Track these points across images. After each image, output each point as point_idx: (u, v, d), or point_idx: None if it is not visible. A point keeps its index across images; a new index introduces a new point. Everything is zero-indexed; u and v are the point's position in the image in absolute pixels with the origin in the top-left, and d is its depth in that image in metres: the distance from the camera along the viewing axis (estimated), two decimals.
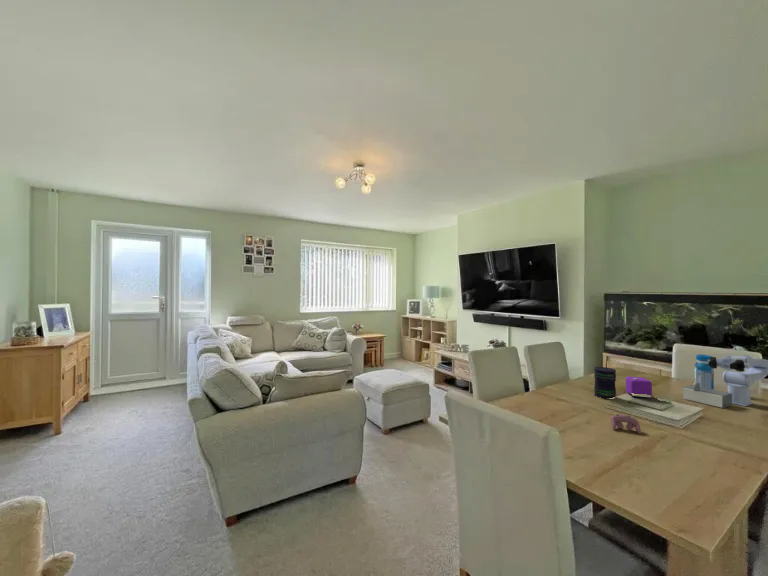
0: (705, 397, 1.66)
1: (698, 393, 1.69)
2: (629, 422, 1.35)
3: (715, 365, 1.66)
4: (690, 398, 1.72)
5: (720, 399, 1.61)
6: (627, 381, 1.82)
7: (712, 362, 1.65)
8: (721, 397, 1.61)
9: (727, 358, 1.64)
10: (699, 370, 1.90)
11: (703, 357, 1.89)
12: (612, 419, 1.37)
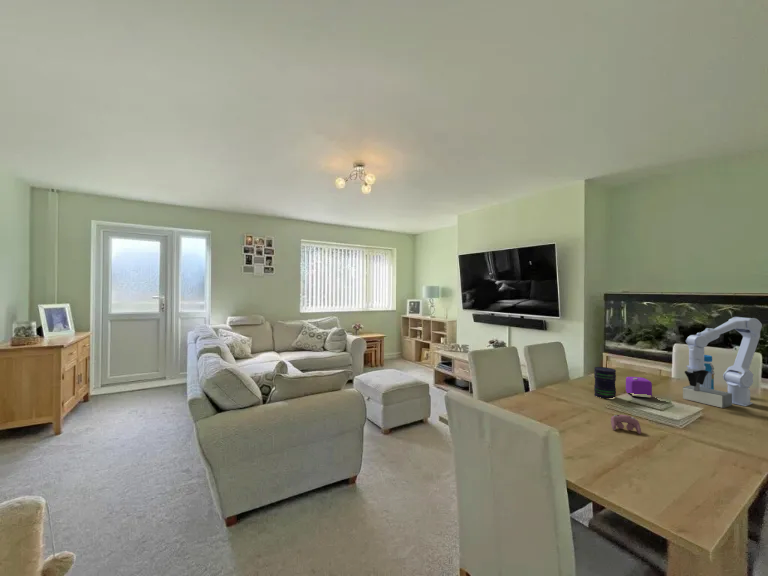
0: (705, 397, 1.66)
1: (698, 393, 1.69)
2: (629, 422, 1.35)
3: (702, 373, 1.70)
4: (690, 398, 1.72)
5: (720, 399, 1.61)
6: (627, 381, 1.82)
7: (698, 379, 1.72)
8: (721, 397, 1.61)
9: None
10: None
11: None
12: (612, 419, 1.37)
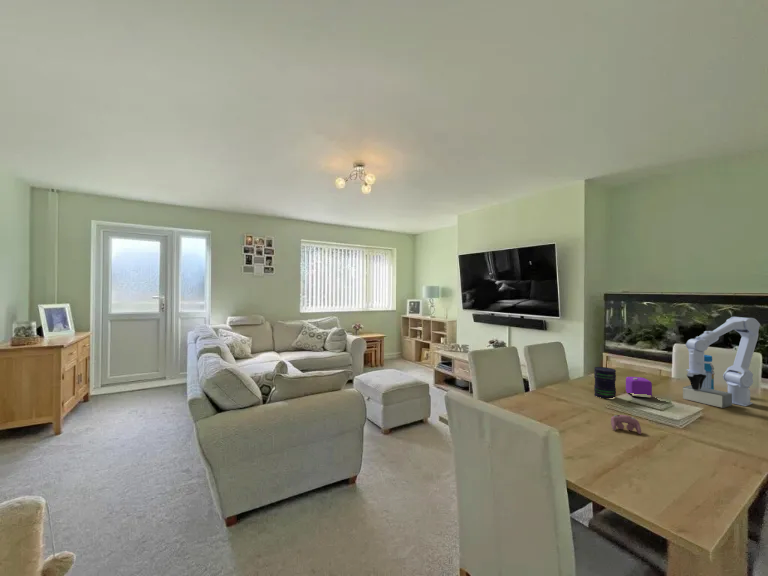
0: (705, 397, 1.66)
1: (698, 393, 1.69)
2: (629, 423, 1.35)
3: None
4: (690, 398, 1.72)
5: (720, 399, 1.61)
6: (627, 381, 1.82)
7: None
8: (721, 397, 1.61)
9: None
10: None
11: None
12: (612, 420, 1.37)
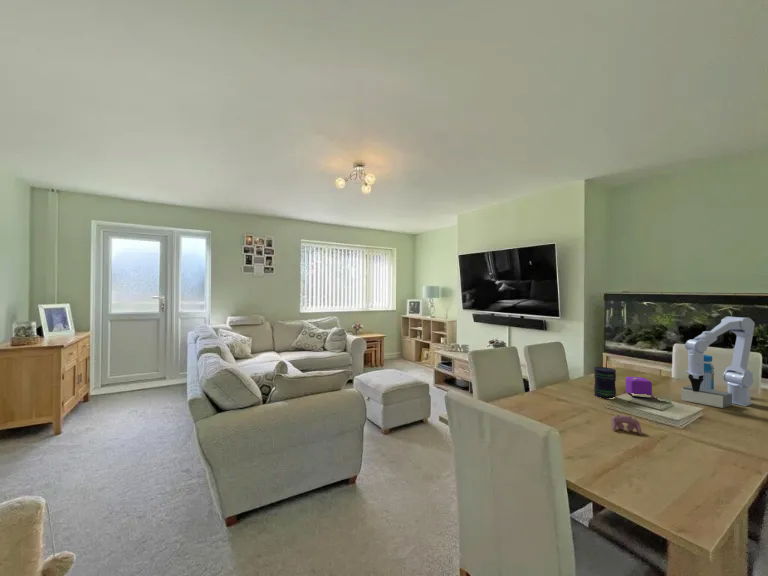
0: (705, 398, 1.65)
1: (698, 393, 1.67)
2: (630, 423, 1.34)
3: None
4: (689, 399, 1.70)
5: (721, 399, 1.61)
6: (627, 381, 1.82)
7: None
8: (722, 397, 1.61)
9: None
10: None
11: None
12: (613, 420, 1.36)
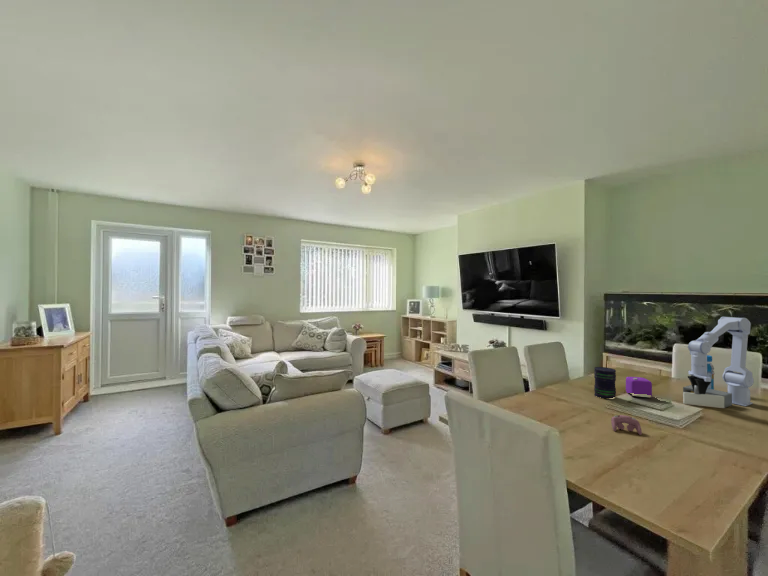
0: (707, 399, 1.63)
1: (700, 396, 1.64)
2: (630, 423, 1.34)
3: None
4: (692, 402, 1.65)
5: (722, 399, 1.60)
6: (627, 381, 1.82)
7: None
8: (723, 397, 1.60)
9: (692, 375, 1.65)
10: None
11: None
12: (613, 420, 1.36)
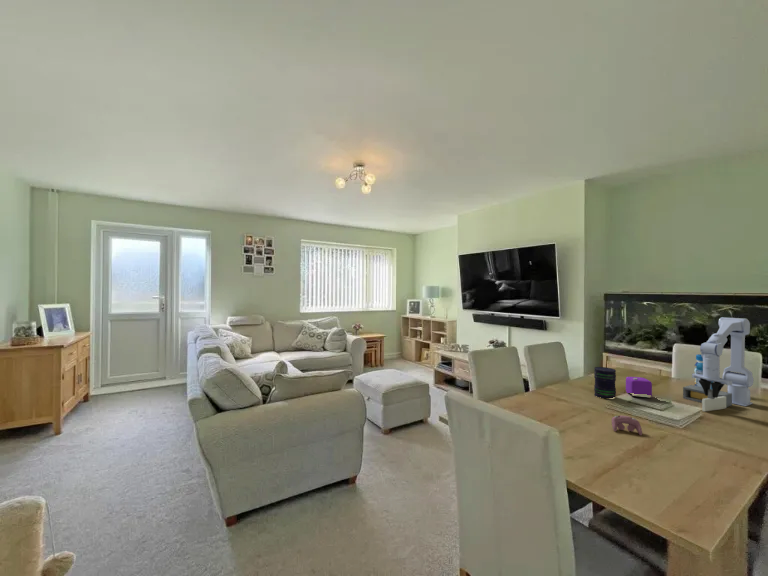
0: (717, 402, 1.58)
1: (713, 400, 1.58)
2: (630, 423, 1.34)
3: (709, 383, 1.60)
4: (709, 408, 1.57)
5: (725, 400, 1.60)
6: (627, 381, 1.82)
7: (707, 390, 1.59)
8: (725, 398, 1.60)
9: (707, 379, 1.57)
10: (699, 370, 1.90)
11: None
12: (613, 420, 1.36)
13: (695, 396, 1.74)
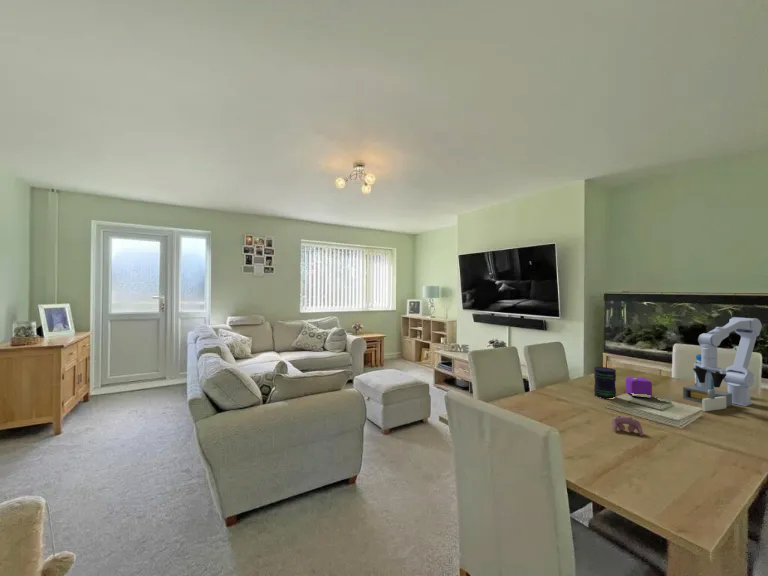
0: (717, 402, 1.58)
1: (713, 400, 1.58)
2: (631, 424, 1.33)
3: (704, 371, 1.68)
4: (709, 408, 1.57)
5: (725, 400, 1.60)
6: (627, 381, 1.82)
7: (701, 378, 1.68)
8: (725, 398, 1.60)
9: (703, 367, 1.65)
10: None
11: None
12: (613, 421, 1.35)
13: (695, 396, 1.74)
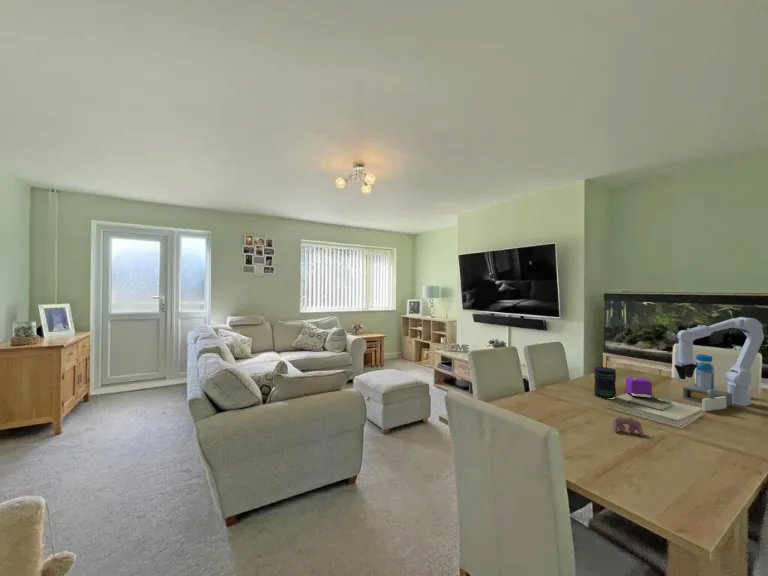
0: (717, 402, 1.58)
1: (713, 400, 1.58)
2: (631, 424, 1.33)
3: (692, 367, 1.78)
4: (709, 408, 1.57)
5: (725, 400, 1.60)
6: (627, 381, 1.82)
7: (687, 372, 1.79)
8: (725, 398, 1.60)
9: None
10: (699, 370, 1.90)
11: (703, 357, 1.89)
12: (614, 421, 1.35)
13: (695, 396, 1.74)
